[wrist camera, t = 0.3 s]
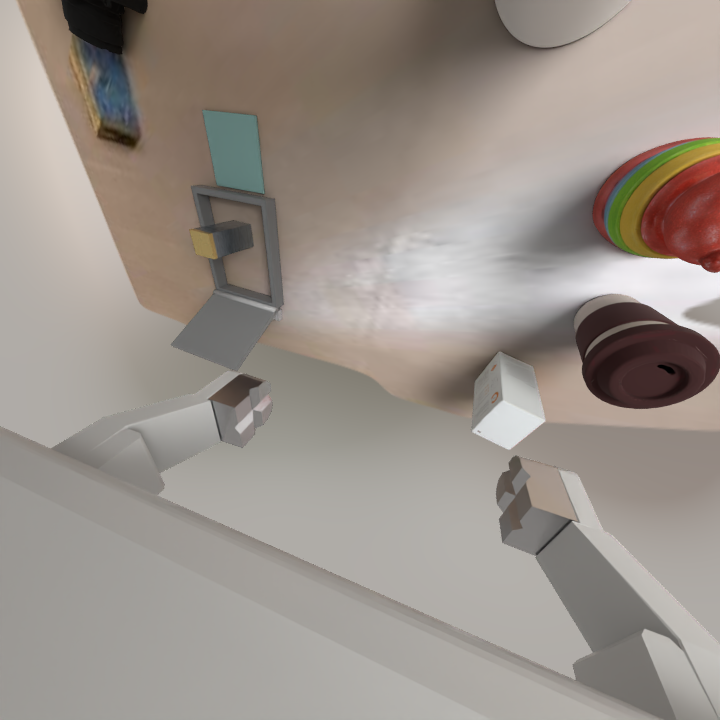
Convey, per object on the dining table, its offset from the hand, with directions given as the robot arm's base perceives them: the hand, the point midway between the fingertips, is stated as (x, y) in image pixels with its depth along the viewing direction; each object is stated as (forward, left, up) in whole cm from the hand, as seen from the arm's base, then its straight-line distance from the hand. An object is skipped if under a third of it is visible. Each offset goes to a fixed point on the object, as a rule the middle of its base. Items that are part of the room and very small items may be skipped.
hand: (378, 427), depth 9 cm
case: (+14, -40, -38) cm, 57 cm away
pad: (-5, -39, -39) cm, 55 cm away
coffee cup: (+8, +22, -39) cm, 45 cm away
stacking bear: (-6, +18, -39) cm, 43 cm away
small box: (+22, +14, -39) cm, 47 cm away
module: (+8, -40, -39) cm, 56 cm away
